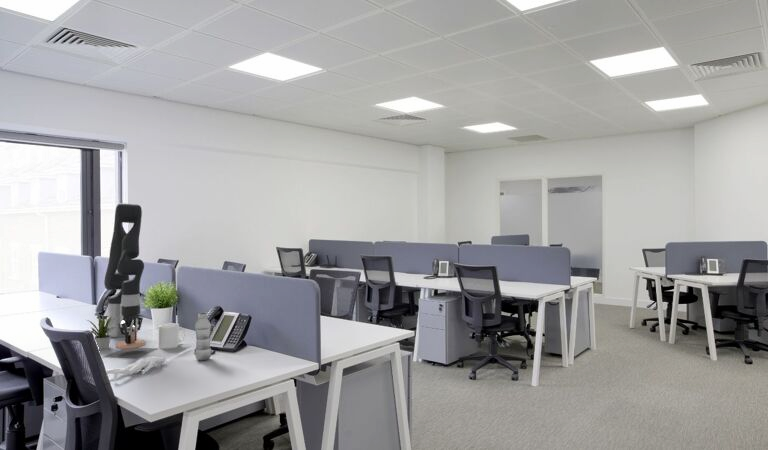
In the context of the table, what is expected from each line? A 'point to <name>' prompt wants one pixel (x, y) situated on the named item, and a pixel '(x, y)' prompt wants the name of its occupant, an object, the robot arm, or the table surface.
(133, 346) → the lid
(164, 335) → the mug
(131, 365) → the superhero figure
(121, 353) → the mat
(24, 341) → the table surface
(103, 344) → the house plant
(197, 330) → the plastic bottle
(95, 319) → the table surface
